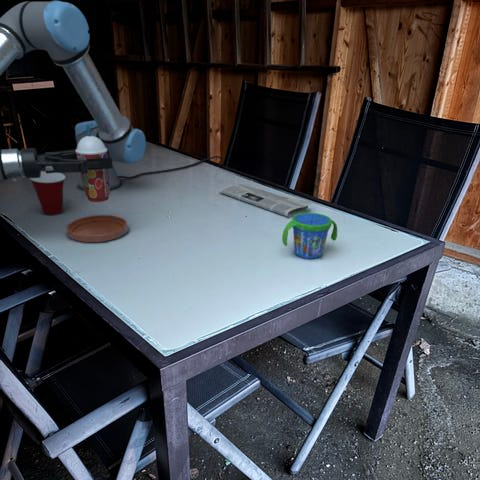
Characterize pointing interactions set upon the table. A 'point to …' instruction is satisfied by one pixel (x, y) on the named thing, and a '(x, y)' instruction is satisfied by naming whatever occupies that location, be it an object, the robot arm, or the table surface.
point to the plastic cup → (50, 192)
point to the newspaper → (266, 199)
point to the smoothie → (96, 178)
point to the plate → (97, 228)
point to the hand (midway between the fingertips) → (110, 159)
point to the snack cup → (309, 233)
